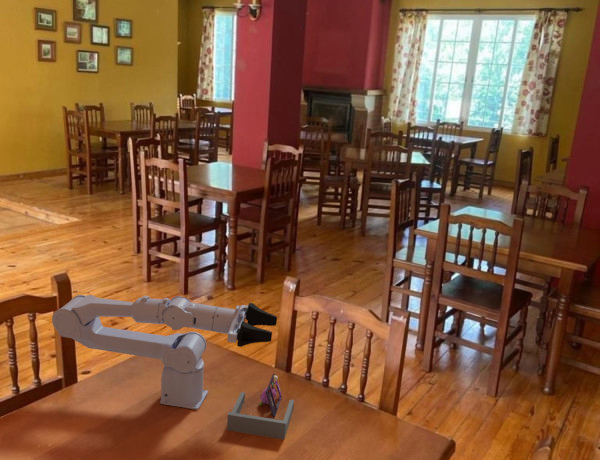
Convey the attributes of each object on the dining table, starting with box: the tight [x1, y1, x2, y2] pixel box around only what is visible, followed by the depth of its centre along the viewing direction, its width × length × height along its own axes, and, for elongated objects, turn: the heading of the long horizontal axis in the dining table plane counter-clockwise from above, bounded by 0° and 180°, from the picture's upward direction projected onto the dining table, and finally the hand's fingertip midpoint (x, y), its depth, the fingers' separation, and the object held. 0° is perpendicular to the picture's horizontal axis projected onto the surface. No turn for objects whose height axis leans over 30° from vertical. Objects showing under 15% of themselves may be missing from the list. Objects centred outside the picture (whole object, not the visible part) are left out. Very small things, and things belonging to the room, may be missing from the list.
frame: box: [226, 391, 295, 440], centre depth 132 cm, size 13×12×4 cm
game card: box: [258, 373, 283, 418], centre depth 138 cm, size 7×5×9 cm
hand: (274, 328), depth 131 cm, fingers open, 7 cm apart
